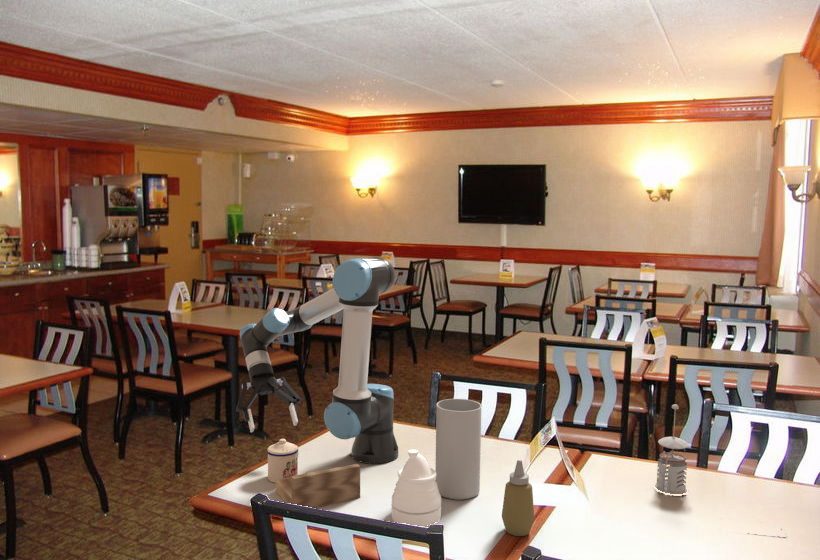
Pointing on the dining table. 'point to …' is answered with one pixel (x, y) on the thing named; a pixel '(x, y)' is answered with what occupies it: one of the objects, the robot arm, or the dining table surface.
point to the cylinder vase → (458, 448)
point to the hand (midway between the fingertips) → (274, 426)
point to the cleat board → (321, 486)
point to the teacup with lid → (282, 460)
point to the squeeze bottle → (518, 503)
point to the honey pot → (416, 493)
